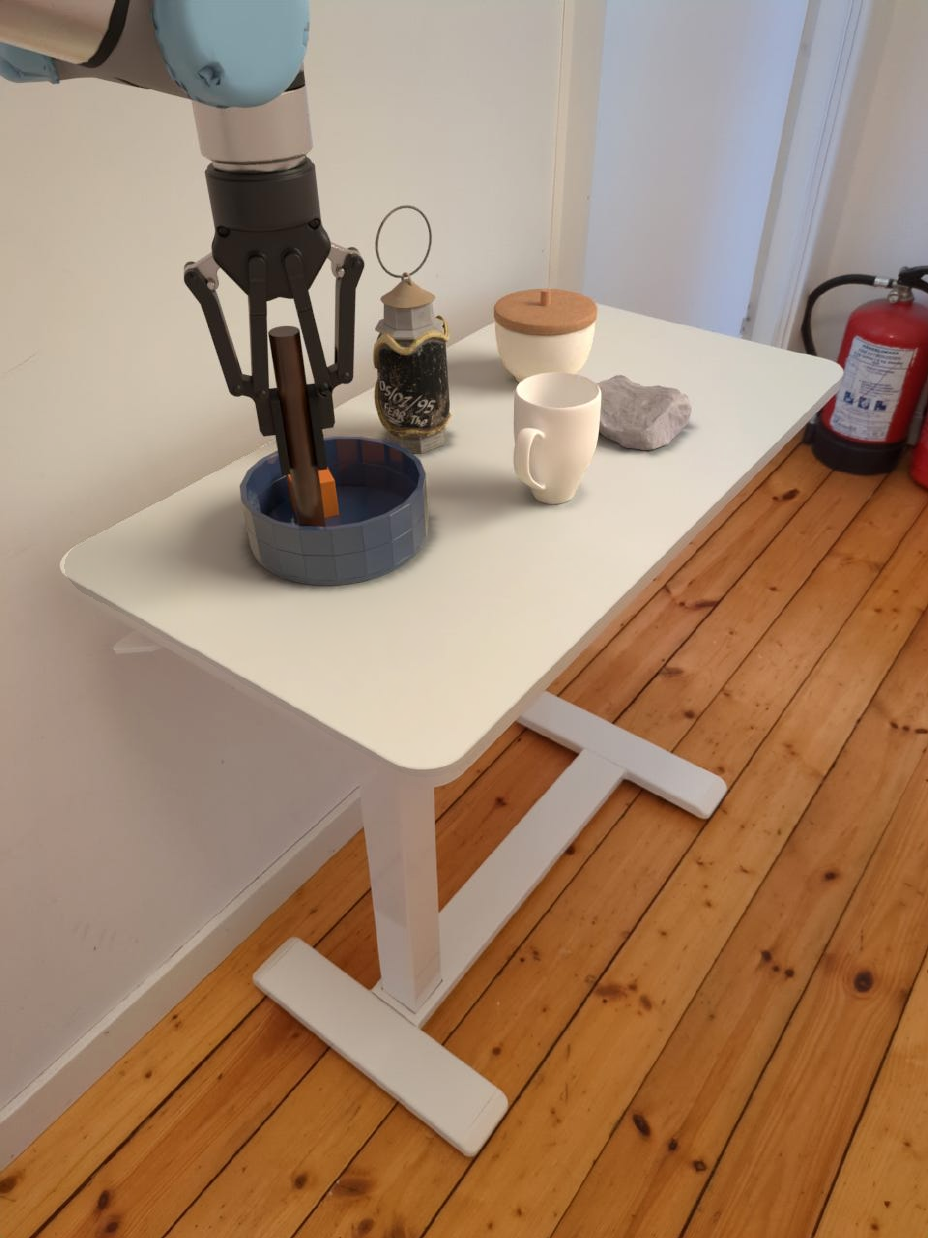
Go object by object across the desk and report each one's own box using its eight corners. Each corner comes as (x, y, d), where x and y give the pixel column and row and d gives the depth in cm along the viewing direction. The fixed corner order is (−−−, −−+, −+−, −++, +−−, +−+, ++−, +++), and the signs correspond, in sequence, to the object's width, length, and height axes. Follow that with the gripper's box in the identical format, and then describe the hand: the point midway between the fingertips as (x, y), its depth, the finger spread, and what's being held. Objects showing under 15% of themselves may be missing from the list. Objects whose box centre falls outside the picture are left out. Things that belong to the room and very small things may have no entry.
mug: (535, 466, 97) (538, 365, 90) (606, 484, 93) (615, 381, 86) (481, 519, 89) (479, 413, 82) (557, 541, 85) (562, 433, 78)
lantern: (405, 464, 98) (387, 222, 82) (364, 438, 103) (340, 205, 87) (467, 439, 102) (462, 204, 86) (425, 415, 107) (413, 189, 91)
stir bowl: (257, 599, 79) (245, 543, 76) (246, 501, 93) (235, 449, 89) (445, 568, 82) (443, 513, 79) (409, 477, 95) (406, 426, 92)
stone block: (650, 470, 99) (697, 421, 103) (649, 434, 95) (697, 385, 100) (563, 442, 105) (610, 397, 110) (558, 407, 102) (607, 362, 106)
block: (299, 524, 88) (294, 488, 85) (290, 504, 91) (285, 469, 88) (339, 515, 89) (334, 480, 86) (329, 496, 92) (324, 461, 89)
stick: (300, 538, 79) (269, 338, 68) (297, 524, 81) (266, 327, 69) (327, 534, 79) (301, 334, 68) (324, 520, 81) (297, 323, 70)
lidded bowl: (612, 382, 113) (620, 294, 106) (528, 407, 108) (531, 316, 101) (555, 349, 121) (558, 266, 114) (475, 370, 116) (474, 285, 110)
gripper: (362, 140, 65) (385, 433, 80) (144, 155, 63) (209, 456, 77) (379, 162, 60) (400, 473, 74) (140, 179, 57) (211, 499, 72)
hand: (303, 464), depth 76 cm, fingers closed on stick, 2 cm apart
